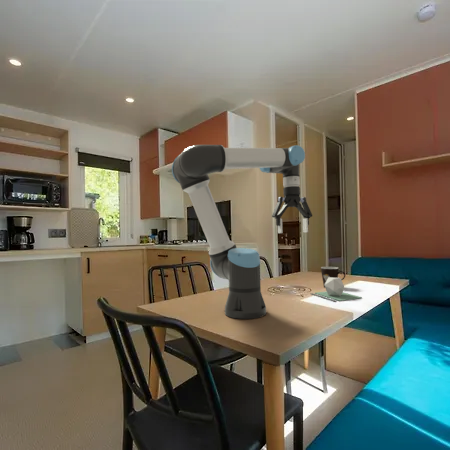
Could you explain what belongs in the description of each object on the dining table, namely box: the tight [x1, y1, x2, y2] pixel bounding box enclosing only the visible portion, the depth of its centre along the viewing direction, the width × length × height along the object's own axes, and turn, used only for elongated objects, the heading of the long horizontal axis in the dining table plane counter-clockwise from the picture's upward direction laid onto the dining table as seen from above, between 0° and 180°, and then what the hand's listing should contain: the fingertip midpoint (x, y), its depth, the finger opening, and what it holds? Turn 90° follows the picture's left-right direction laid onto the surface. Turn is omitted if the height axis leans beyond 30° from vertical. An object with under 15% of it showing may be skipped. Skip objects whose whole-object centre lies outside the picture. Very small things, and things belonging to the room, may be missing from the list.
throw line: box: [310, 292, 337, 303], centre depth 124 cm, size 1×16×1 cm, turn 20°
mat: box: [314, 291, 363, 302], centre depth 127 cm, size 12×16×1 cm
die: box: [323, 277, 345, 296], centre depth 126 cm, size 8×9×10 cm
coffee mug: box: [320, 266, 346, 289], centre depth 145 cm, size 12×9×10 cm
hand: (293, 232), depth 131 cm, fingers open, 13 cm apart
